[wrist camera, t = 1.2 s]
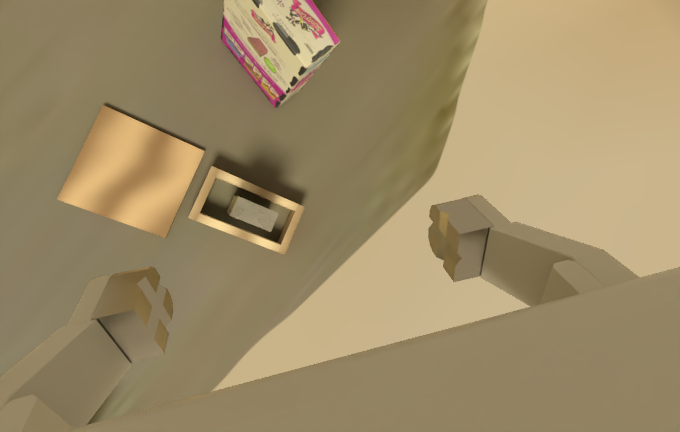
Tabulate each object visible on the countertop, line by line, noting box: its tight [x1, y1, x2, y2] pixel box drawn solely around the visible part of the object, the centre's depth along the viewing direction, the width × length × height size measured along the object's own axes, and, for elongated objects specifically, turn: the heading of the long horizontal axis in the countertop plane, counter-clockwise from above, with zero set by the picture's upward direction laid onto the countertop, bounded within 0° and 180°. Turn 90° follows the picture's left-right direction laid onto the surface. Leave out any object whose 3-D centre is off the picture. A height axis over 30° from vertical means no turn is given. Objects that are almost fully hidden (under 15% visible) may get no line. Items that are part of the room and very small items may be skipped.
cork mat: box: [58, 105, 205, 238], centre depth 43 cm, size 12×12×1 cm
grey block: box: [227, 196, 279, 232], centre depth 44 cm, size 5×2×8 cm, turn 66°
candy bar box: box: [221, 0, 341, 108], centre depth 40 cm, size 11×5×16 cm, turn 41°
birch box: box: [188, 166, 305, 255], centre depth 47 cm, size 13×7×2 cm, turn 66°
